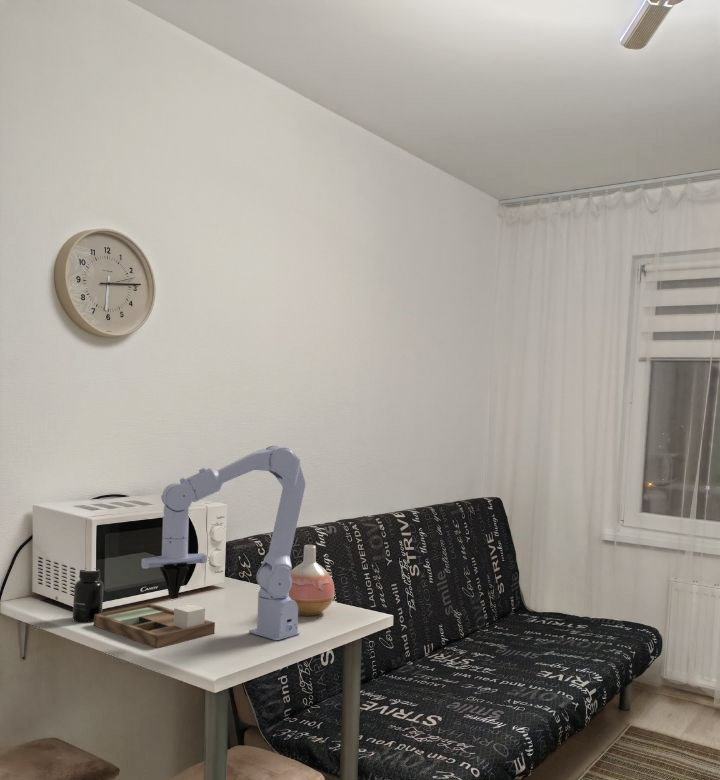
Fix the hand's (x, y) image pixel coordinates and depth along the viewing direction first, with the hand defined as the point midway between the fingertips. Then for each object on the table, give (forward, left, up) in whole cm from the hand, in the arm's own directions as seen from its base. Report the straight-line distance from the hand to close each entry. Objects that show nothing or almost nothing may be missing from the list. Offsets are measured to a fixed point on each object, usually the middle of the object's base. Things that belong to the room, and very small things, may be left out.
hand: (173, 597), depth 174 cm
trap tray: (+10, -3, -10) cm, 15 cm away
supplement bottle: (+29, +3, -10) cm, 31 cm away
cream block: (+2, -6, -8) cm, 10 cm away
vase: (-4, -40, -10) cm, 42 cm away
